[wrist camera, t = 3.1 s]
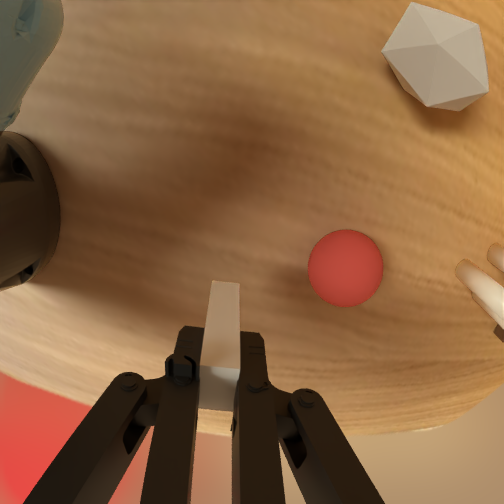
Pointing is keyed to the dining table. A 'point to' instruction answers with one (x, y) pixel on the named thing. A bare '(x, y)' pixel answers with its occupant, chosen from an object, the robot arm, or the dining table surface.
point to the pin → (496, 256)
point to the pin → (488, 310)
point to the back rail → (499, 332)
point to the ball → (345, 268)
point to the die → (438, 58)
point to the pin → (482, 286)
